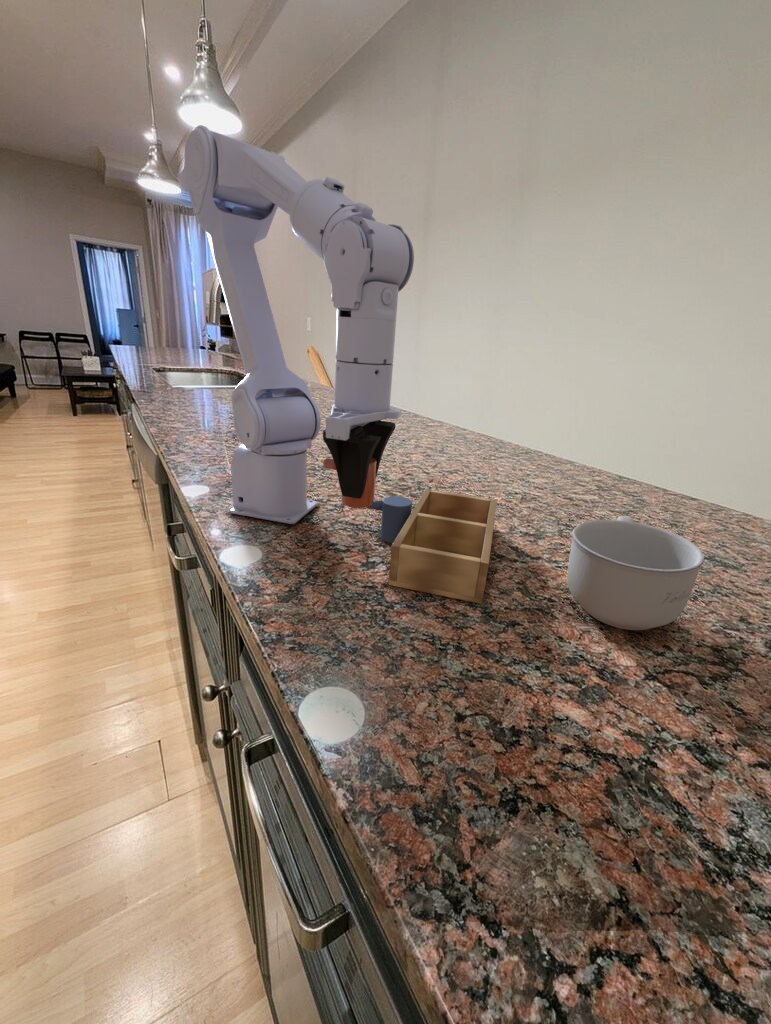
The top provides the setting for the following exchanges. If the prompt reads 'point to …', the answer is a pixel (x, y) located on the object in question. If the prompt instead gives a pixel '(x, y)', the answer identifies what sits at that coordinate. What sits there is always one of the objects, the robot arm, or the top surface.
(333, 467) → the terracotta scoop
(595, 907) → the top surface
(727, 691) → the top surface
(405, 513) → the blue scoop
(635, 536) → the teacup
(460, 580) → the caddy
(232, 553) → the top surface
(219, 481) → the top surface
